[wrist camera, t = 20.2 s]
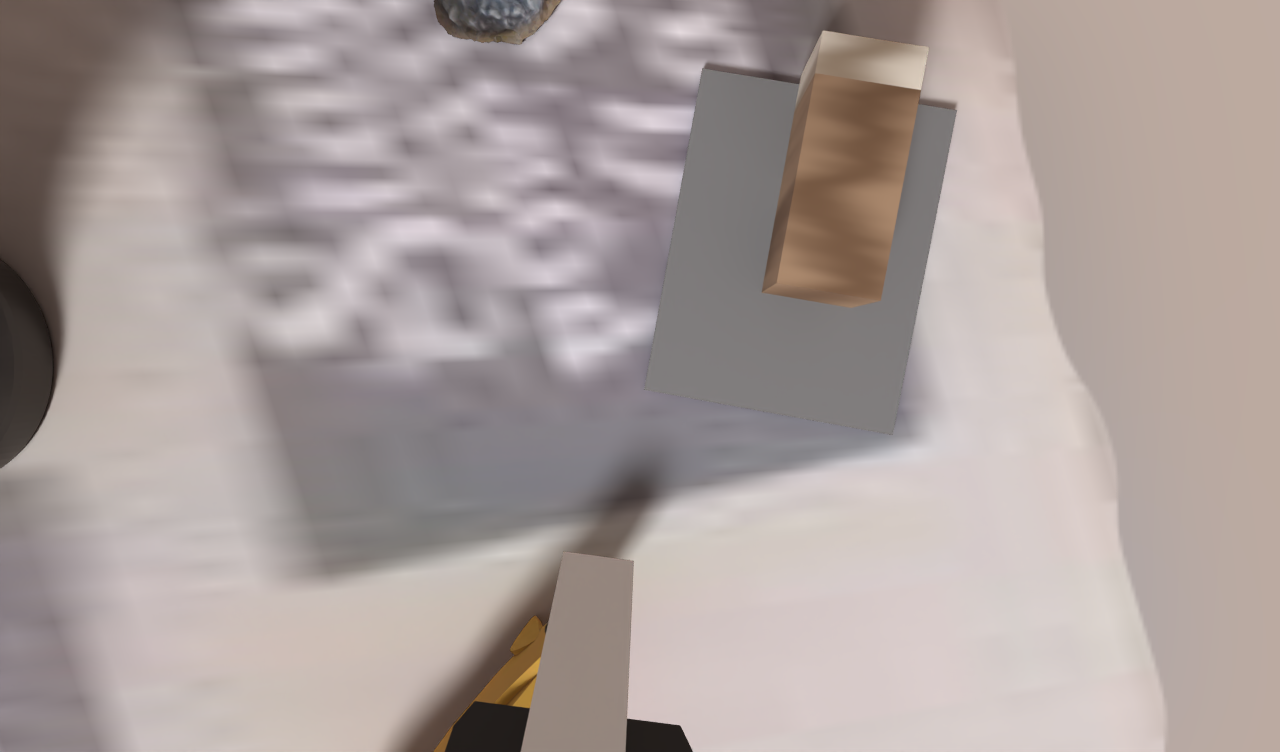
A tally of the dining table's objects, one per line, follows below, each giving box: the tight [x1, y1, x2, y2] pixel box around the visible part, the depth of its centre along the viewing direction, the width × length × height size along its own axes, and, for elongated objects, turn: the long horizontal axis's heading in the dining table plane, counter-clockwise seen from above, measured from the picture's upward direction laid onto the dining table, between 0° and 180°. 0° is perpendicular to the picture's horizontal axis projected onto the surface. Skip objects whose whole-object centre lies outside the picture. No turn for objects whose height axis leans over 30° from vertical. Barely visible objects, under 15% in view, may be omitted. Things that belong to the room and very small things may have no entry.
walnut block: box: [761, 31, 929, 308], centre depth 33 cm, size 5×5×12 cm
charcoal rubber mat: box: [644, 68, 957, 435], centre depth 36 cm, size 14×18×1 cm
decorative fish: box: [433, 616, 548, 752], centre depth 35 cm, size 22×3×10 cm, turn 139°
